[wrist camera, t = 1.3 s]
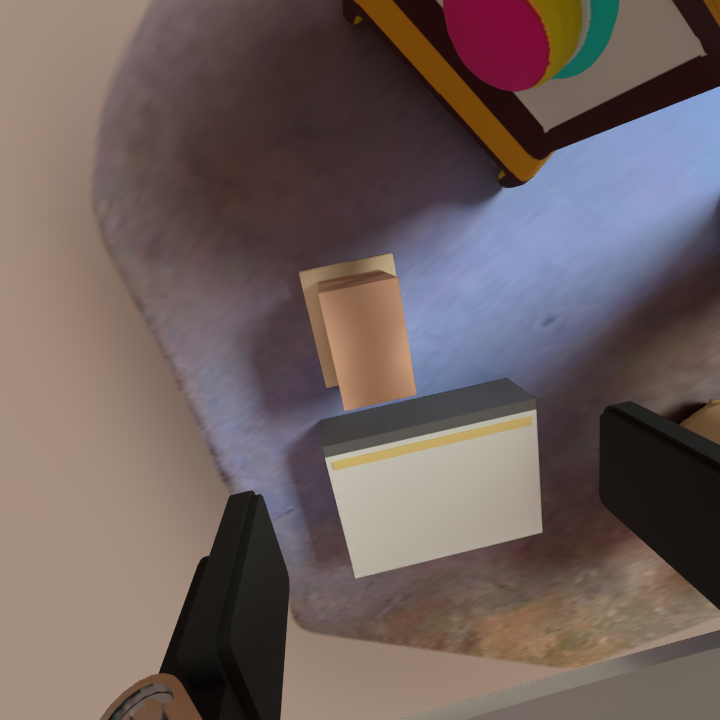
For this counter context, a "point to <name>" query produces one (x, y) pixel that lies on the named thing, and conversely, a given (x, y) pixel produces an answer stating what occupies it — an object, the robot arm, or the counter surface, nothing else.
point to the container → (706, 421)
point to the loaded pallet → (360, 330)
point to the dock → (435, 475)
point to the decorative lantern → (549, 65)
